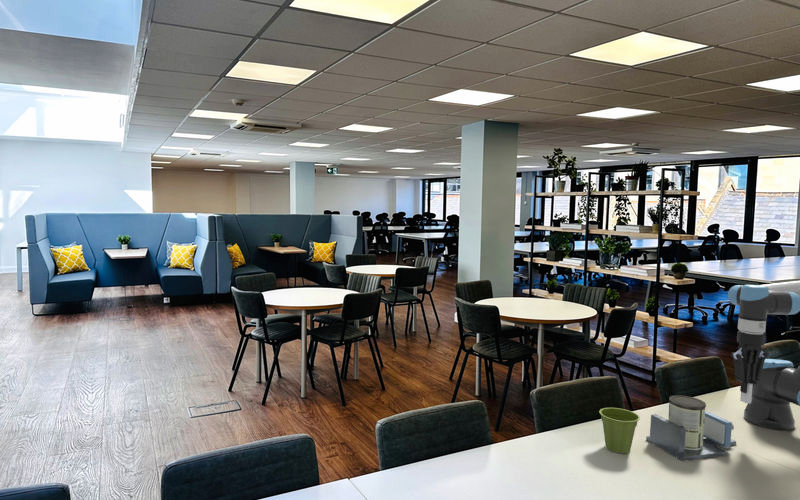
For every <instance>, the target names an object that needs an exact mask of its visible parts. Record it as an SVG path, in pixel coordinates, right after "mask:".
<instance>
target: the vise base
mask: <svg viewBox="0 0 800 500" xmlns="http://www.w3.org/2000/svg"><path fill="white" fill-rule="evenodd" d="M649 427H650V429H649V435H647V436H645V438H646V439H645V440H646V441H648V442H649V443H651V444H652V445H654V446H655V447H657V448H659V449H661V450H663V451H665V453H668V454H670V455H672V456H673V457H674V456H675V458H676V457H677V458H676V459H678V460H680V461H682V462H685V461H686V460H687V461H694V460H703V459H709V458H710V459H711V458H718V457H725V456H728V451H726V450H724V449H722V448H721V447H723V446H721V445H719V444H717V443H715V442H713V441H711V440H709V439H707V438H705V437H703V448H702V449H701V450H685V435H686V429H685V428H683V427H681V426H679V425H677V424H675V423H673V422H671V421H669V420H668V419H667V418H665V417H663V416H660V415H658V414H657V413H655V414H652V413H651V414H650V426H649ZM731 446H737V441H736V440H735V439H733V438H731V444H730V447H731Z"/></svg>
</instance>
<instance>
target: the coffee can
mask: <svg viewBox="0 0 800 500" xmlns="http://www.w3.org/2000/svg"><path fill="white" fill-rule="evenodd" d="M668 400H669V401H668V419H667V420H669V421H671V422H673V423H675V424H677V425H679V426H681V427H683V428H685V429H686V435H685V450H701V449H702V448H703V439H704V438H705V437H704V421H705V411H706V407H707V403H706V402H705V401H703V400H701V399H699V398H696V397H692V396H689V395H688V396H687V395H679V394H678V395H677V394H675V395H670V396H669V399H668Z"/></svg>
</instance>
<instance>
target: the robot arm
mask: <svg viewBox="0 0 800 500" xmlns="http://www.w3.org/2000/svg"><path fill="white" fill-rule="evenodd" d="M727 296H728V297H727V298H728V301H729V302H730V303H731V305H734V306H738V307H739V310H738V320H737V321H738V322H737V329H738V331H737V334H736V335H737V336H736V342H737V343H738V344H739V345H738V347H737V351H736V352H731V353H730V355H731V358H732V359H733V370H734V376H735V377H734V378H735V380H736V381H738V382H740V387H739V388H740V389H739V391H740V398H739V401H740V402H742V403H745V404H747V405H746V406H745V409H744V411H743V417H744V419H745V420H746V421H748V422H750V423H752V424H754V425H758V426H761V427H764V428H768V429H773V430H779V431H787V430H788V431H790V430H793V429H794V428H795V427H796V426H795V424H796V423H795V422H796V421H795V418H794V415H793V411H792V407H791V404H794V405H796V406H799V407H800V365H799V366H798V367H797V368H794V363H793V362H792V361H790V360H784V359H778V358H777V359H774V358H767V357H768V353H767V352H764V351H763V346H765V341H766V335H765V333H766V329H767V328H766V327H767V318H768V315H785V316H789V315H796V314H798V313H799V312H800V280H793V281H785V282H776V283H769V284H768V283H767V284H756V285H755V284H744V285H743V284H741V285H740V284H737V285H733V286H731V287H730V288H729V290H728V294H727Z"/></svg>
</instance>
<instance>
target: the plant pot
mask: <svg viewBox="0 0 800 500" xmlns="http://www.w3.org/2000/svg"><path fill="white" fill-rule="evenodd" d="M598 412H599V415H600V416H601V417H600V418H601V422H602V428H603V435H604V442H605V447H606V448H607V450H609V451H611V452H613V453H617V454H620V453H623V454H627V453H630V452H631V449H632V445H633V440H634V437H635V436H634V435H635V431H636V427H637V426H638V421H640V419H641V417H640V415H639V414H637V413H636V412H634V411H631V410H628V409H624V408H620V407H619V408H618V407H603V408H600V410H599V411H598Z"/></svg>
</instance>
